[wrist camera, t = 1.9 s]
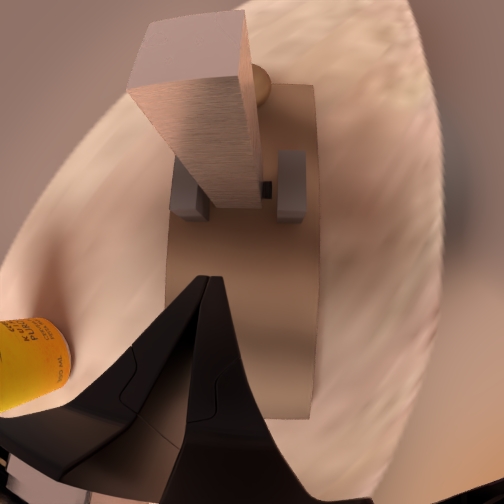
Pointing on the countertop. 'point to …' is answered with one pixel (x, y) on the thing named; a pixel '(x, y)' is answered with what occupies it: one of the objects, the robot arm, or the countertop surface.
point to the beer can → (31, 360)
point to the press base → (262, 251)
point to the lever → (205, 102)
